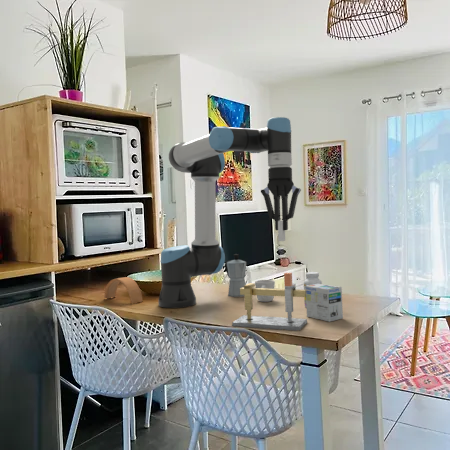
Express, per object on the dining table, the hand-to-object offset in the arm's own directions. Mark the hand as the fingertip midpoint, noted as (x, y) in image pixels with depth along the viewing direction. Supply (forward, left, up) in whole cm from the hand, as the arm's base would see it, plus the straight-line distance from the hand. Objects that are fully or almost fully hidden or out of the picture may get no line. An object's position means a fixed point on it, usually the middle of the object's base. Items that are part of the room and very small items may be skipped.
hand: (281, 240), depth 148 cm
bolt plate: (-4, -3, -27) cm, 27 cm away
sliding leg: (+2, -1, -25) cm, 25 cm away
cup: (-17, +31, -27) cm, 45 cm away
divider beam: (-4, -1, -26) cm, 26 cm away
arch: (-79, +21, -27) cm, 86 cm away
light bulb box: (+11, +10, -27) cm, 31 cm away
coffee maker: (-34, +42, -27) cm, 61 cm away
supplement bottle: (+4, +25, -27) cm, 37 cm away
